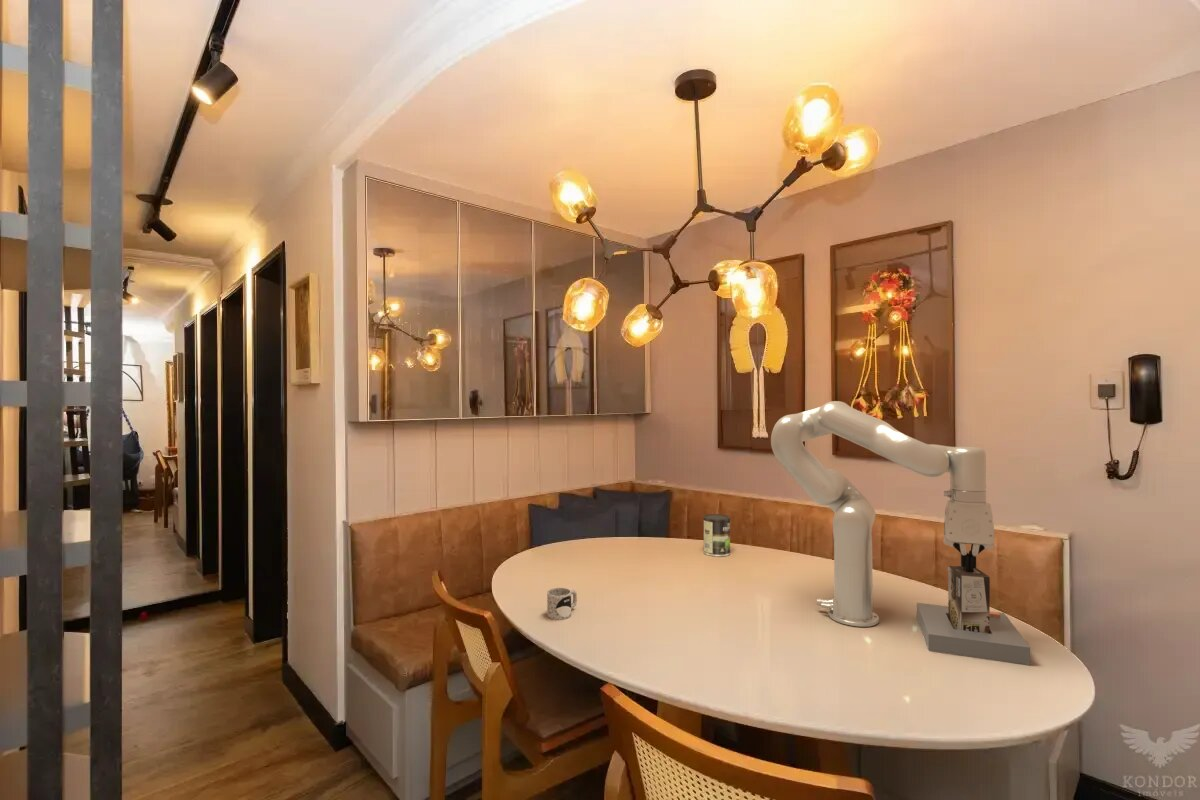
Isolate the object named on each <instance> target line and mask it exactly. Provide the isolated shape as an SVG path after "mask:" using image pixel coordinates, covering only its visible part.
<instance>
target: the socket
mask: <svg viewBox="0 0 1200 800" xmlns="http://www.w3.org/2000/svg"><path fill="white" fill-rule="evenodd" d="M916 619H917V622H918V624H919V628H920V631H921V633H922V637H923V636H924V637H923V639H924V641H925V645H926V647H927V649H928V650H929V652H936V653H942V654H947V655H948V654H949V655H956V656H963V657H969V658H975V659H984V660H990V661H996V662H1004V663H1011V664H1017V665H1026V666H1031V647H1030V645H1029V644H1028V643H1027V641H1026V640H1025V639H1024V637H1023V636H1022V635H1021V633H1020V632H1019V631H1018V629H1017V628H1016V626H1015V625H1014V623H1012V622H1011V620H1010V619H1009V618H1008V616H1007V615H1006V614H1005V612H1000V611H999V612H998V611H990V634H988V633H980V632H973V631H965V630H957V629H953V627H952V625H951V623H950V621H949V607H948V605H947V606H946V605H940V604H930V603H923V602H922V603H921V602H916Z"/></svg>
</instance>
